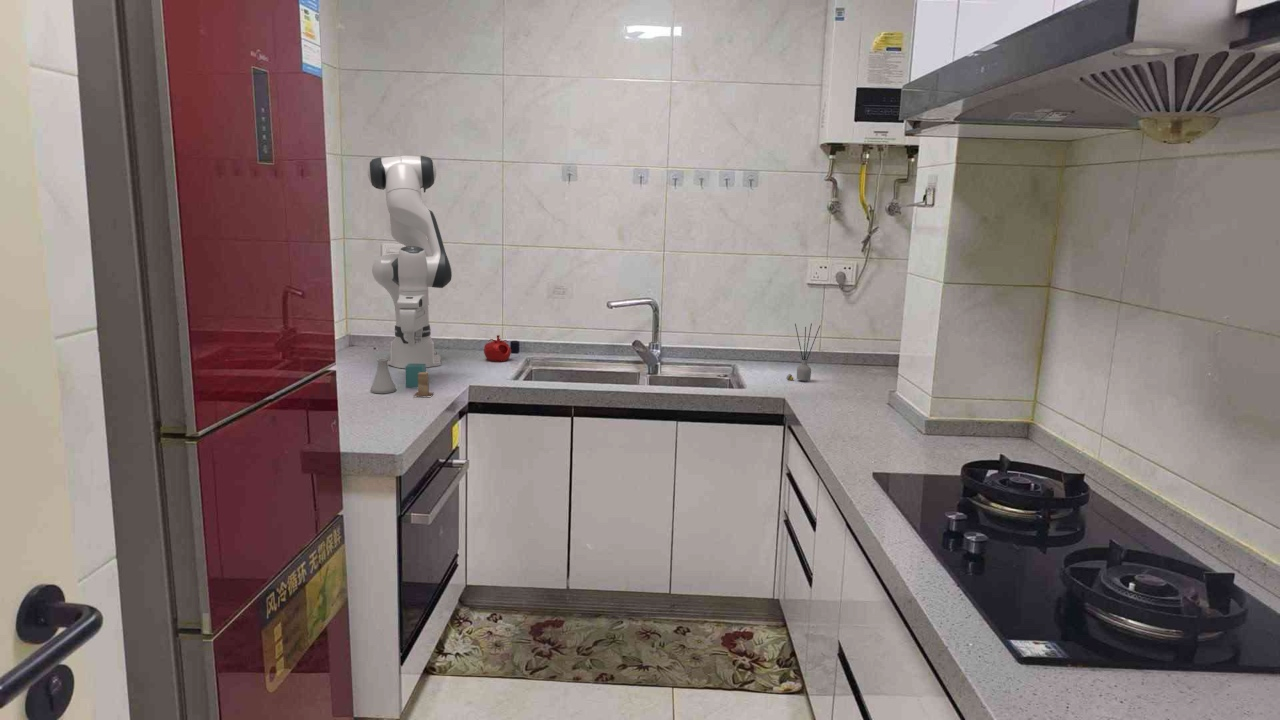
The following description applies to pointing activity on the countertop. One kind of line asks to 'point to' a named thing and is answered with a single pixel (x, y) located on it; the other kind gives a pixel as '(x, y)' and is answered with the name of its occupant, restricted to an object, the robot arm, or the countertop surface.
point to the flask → (383, 378)
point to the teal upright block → (413, 374)
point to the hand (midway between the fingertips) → (415, 344)
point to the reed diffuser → (803, 362)
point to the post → (423, 385)
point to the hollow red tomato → (497, 350)
